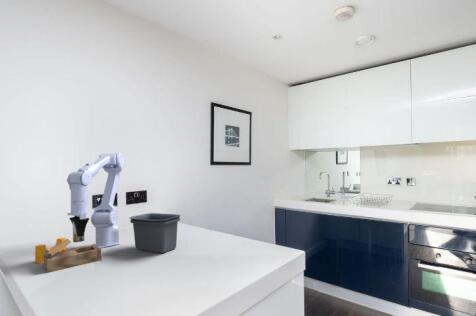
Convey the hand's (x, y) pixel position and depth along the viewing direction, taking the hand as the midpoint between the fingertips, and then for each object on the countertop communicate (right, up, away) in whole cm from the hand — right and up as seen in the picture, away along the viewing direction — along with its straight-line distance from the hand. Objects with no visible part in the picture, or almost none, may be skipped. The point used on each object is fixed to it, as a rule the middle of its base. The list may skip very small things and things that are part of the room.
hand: (79, 235), depth 105 cm
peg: (0, -2, 0) cm, 2 cm away
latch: (-2, -3, -8) cm, 9 cm away
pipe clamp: (-13, -10, +2) cm, 16 cm away
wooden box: (+1, -9, -6) cm, 10 cm away
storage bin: (+28, -9, +10) cm, 31 cm away
